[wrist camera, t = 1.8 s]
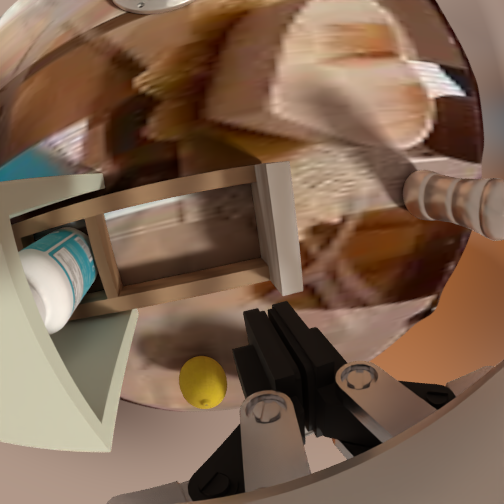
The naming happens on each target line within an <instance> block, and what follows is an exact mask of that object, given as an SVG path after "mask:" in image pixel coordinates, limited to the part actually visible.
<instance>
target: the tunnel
mask: <svg viewBox="0 0 504 504" xmlns="http://www.w3.org/2000/svg"><path fill="white" fill-rule="evenodd" d="M104 188H105V184H104V178H103V173H96V174H77V175H62V176H49V177H38V178H28V179H19V180H11V181H3V182H0V441H1V442H6V443H10V444H16V445H21V446H28V447H35V448H43V449H52V450H63V451H79V452H111V447H112V440H113V432H114V427H115V420H116V414H117V409H118V403H119V398H120V393H121V388H122V383H123V378H124V373H125V369H126V364H127V360H128V355H129V351H130V347H131V343H132V339H133V335H134V331H135V327H136V323H137V319H138V316H139V313H138V311H137V308H136V309H131V310H126V311H120V312H115V313H110V314H104V315H98V316H93V317H87V318H81V319H75V320H69V321H67V323H66V324H65V325H64V327H63V328H62V329H60V330H59V331H58V332H56V333H53V334H50V335H49V333H48V331H47V329H46V327H45V324H44V322H43V320H42V318H41V315H40V313H39V310H38V308H37V305H36V303H35V300H34V298H33V295H32V293H31V290H30V287H29V284H28V282H27V279H26V276H25V273H24V270H23V266H22V263H21V260H20V257H19V253H18V250H17V246H16V242H15V239H14V235H13V231H12V227H11V222H10V219H11V218H14V217H17V216H20V215H22V214H25V213H28V212H31V211H33V210H36V209H39V208H42V207H45V206H48V205H51V204H54V203H57V202H60V201H63V200H66V199H70V198H73V197H76V196H79V195H83V194H86V193H90V192H93V191H97V190H100V189H104Z"/></svg>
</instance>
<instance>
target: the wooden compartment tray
mask: <svg viewBox="0 0 504 504" xmlns="http://www.w3.org/2000/svg"><path fill="white" fill-rule="evenodd" d="M246 183H251V189H252V196H253V203H254V210H255V217H256V224H257V230H258V237H259V244H260V251H261V258H257V259H252V260H248V261H243V262H238V263H234V264H229V265H224V266H219V267H215V268H210V269H205V270H201V271H196V272H191V273H186V274H181V275H177V276H172V277H167V278H162V279H157V280H153V281H148V282H143V283H138V284H133V285H128V286H123V284H122V281H121V278H120V275H119V271H118V268H117V264H116V261H115V257H114V254H113V250H112V246H111V242H110V238H109V234H108V230H107V226H106V222H105V217H104V213H107V212H111V211H115V210H119V209H123V208H127V207H131V206H136V205H140V204H144V203H148V202H153V201H157V200H162V199H167V198H171V197H176V196H181V195H186V194H191V193H196V192H201V191H206V190H212V189H217V188H223V187H228V186H234V185H240V184H246ZM81 219H85V223H86V227H87V231H88V235H89V239H90V243H91V247H92V250H93V254H94V258H95V261H96V264H97V268H98V271H99V274H100V277H101V281H102V284H103V287H104V291H99V292H94V293H89V294H85V295H84V297H83V298H82V300H81V301H80V303H79V304H78V306H77V307H76V309H75V310H74V312H73V314H72V315H71V317H70V318H69V320H75V319H81V318H87V317H93V316H98V315H104V314H110V313H115V312H120V311H126V310H131V309H136V308H142V307H147V306H152V305H157V304H162V303H167V302H172V301H177V300H182V299H187V298H191V297H196V296H201V295H206V294H210V293H215V292H220V291H224V290H229V289H233V288H238V287H242V286H247V285H251V284H256V283H260V282H264V281H269V280H271V282H272V283H273V284H274V285H275V287H276V288H277V289H278V291H279V292H280V293H281V294H282V296H285V295H289V294H293V293H296V292H300V291H303V282H302V270H301V259H300V249H299V238H298V229H297V220H296V211H295V202H294V194H293V185H292V178H291V170H290V162H289V161H286V162H273V163H263V164H256V165H249V166H242V167H236V168H230V169H224V170H218V171H212V172H206V173H201V174H195V175H190V176H185V177H180V178H175V179H170V180H166V181H161V182H156V183H152V184H148V185H143V186H139V187H135V188H131V189H127V190H123V191H119V192H115V193H111V194H107V195H103V196H100V197H96V198H93V199H89V200H86V201H82V202H79V203H75V204H72V205H69V206H65V207H62V208H59V209H56V210H53V211H50V212H47V213H44V214H41V215H38V216H35V217H32V218H29V219H26V220H23V221H21V222H18V223H15V224H12V225H11V227H12V231H13V235H14V239H15V242H16V246H17V250H18V252H19V251H21V250H22V249H24V248H26V247H27V246H29V245H31V244H32V243H34V242H35V241H34V237H33V234H34V233H37V232H40V231H44V230H47V229H50V228H53V227H57V226H60V225H64V224H67V223H70V222H74V221H77V220H81ZM69 320H68V321H69Z"/></svg>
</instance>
